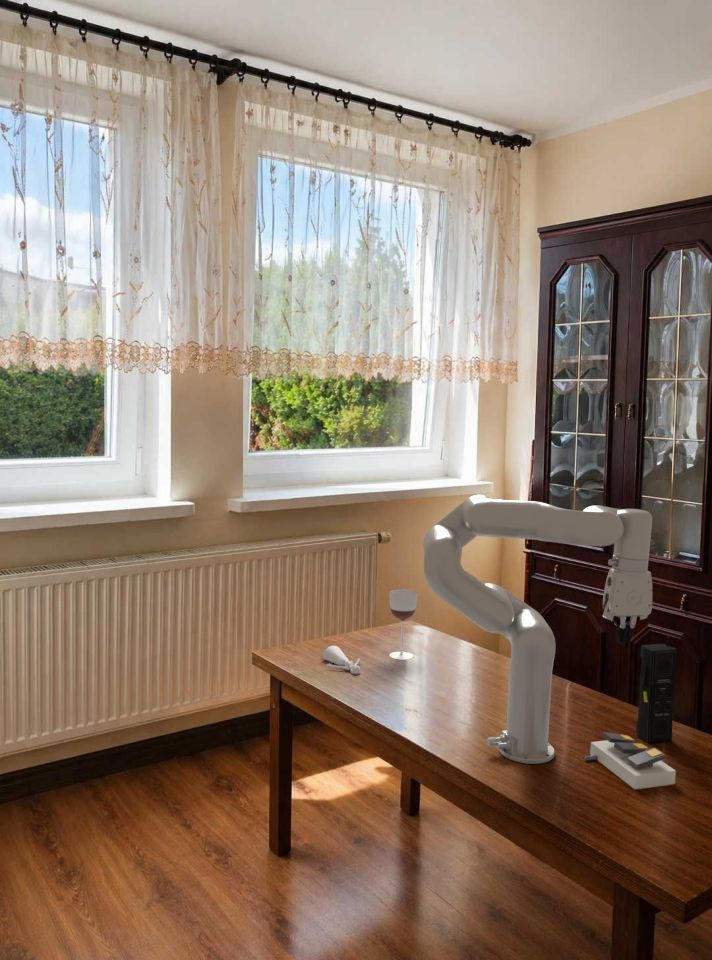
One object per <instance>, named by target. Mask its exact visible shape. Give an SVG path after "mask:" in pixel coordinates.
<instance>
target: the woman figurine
mask: <svg viewBox="0 0 712 960" xmlns="http://www.w3.org/2000/svg"><path fill="white" fill-rule="evenodd" d="M322 657H323V660H325V661H327V662H329V663H327V664H326V666H327V667H330V668H332V667H333V668H338V669H343V670H346V671H350V673H351V674H352V675H359V674H360V673H361V668H360V666H359V665H358V664H359V663H360V660H361V658H359V657H358V658H357V661H356V662H354V661H353V660H352V659H351V660H349V658H348V657H347V656H346V654H345V653H344V652H343V651H342V650H341V648H340V647H339V646H337V645H330V646H328V647H326V646H324V647H323V653H322ZM333 663H334V664H333Z"/></svg>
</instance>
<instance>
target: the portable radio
mask: <svg viewBox="0 0 712 960" xmlns="http://www.w3.org/2000/svg"><path fill="white" fill-rule="evenodd" d="M666 637H667V640H666V643H665V644H664V643H660V644H659V643H655V644H643V645H641V647H640V657H641V664H640V665H641V667H640V673H639V674H640V675H639V681H638V686H639V700H638V714H637V715H638V716H637V721H636V723H635V734H636V736H638V738H641V739H642V740H643V741H645V742H646V743H648V744H652V743H661V742H671V741H672V740H673V719H674V718H673V717H674V716H673V715H674V699H675V697H674V695H675V684H676V683H675V680H676V665H677V648H675V647H673V646H670V635H667V636H666Z"/></svg>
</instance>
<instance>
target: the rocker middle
mask: <svg viewBox="0 0 712 960" xmlns="http://www.w3.org/2000/svg"><path fill="white" fill-rule="evenodd" d="M614 747H615V748H617V749H618V750H619V751H621V752H622V753H623V754H631V755H632V756H633V755H635V754H638V753H641V752H643V751H646V750H649V749H650V748H649V747H648V746H646V745H644V744H643V743H641V742H637V743H622V742H615V743H614Z"/></svg>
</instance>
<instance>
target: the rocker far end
mask: <svg viewBox="0 0 712 960" xmlns="http://www.w3.org/2000/svg"><path fill="white" fill-rule="evenodd" d="M627 759H628V762H629V763H630V764H632V765H633V766H634V767H636V768H637V769H639V768H642V767H645V766H649V767H652V766H653V763H655V762H658V761H663V760H666V754H665V753H664V752H662V751H661V750H659V749H658V748H656V747H652V748H649V750H646V751H643V752H641V753H638V754H635V755H633V756H630V757H627Z"/></svg>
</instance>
